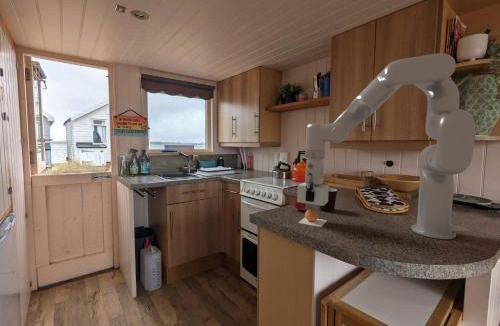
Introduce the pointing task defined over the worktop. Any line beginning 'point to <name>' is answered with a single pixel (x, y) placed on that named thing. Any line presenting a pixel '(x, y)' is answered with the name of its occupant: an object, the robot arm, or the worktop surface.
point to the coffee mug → (330, 201)
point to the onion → (299, 204)
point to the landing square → (315, 223)
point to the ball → (311, 215)
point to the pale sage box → (319, 194)
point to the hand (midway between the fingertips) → (312, 199)
